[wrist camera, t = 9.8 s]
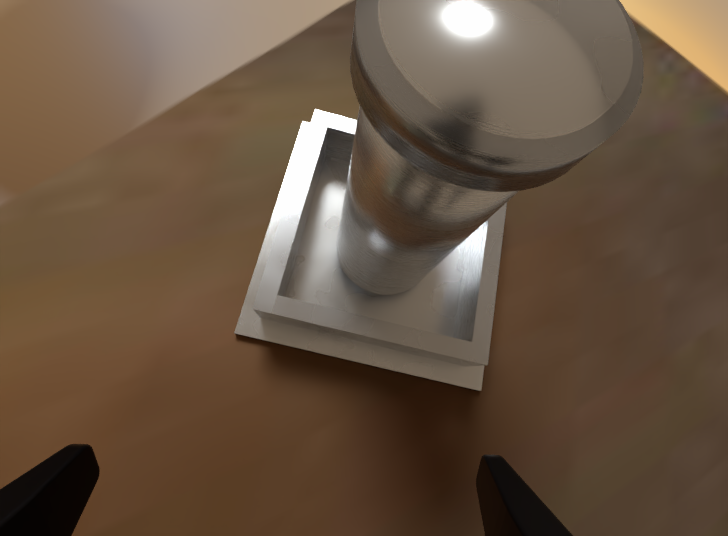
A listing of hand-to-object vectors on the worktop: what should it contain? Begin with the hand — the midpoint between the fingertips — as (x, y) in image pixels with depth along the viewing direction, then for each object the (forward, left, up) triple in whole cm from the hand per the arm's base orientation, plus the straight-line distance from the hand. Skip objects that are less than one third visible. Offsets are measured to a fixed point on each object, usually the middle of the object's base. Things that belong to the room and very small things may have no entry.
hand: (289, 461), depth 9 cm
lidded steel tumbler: (+6, -7, -8) cm, 12 cm away
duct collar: (+6, -7, -9) cm, 13 cm away
